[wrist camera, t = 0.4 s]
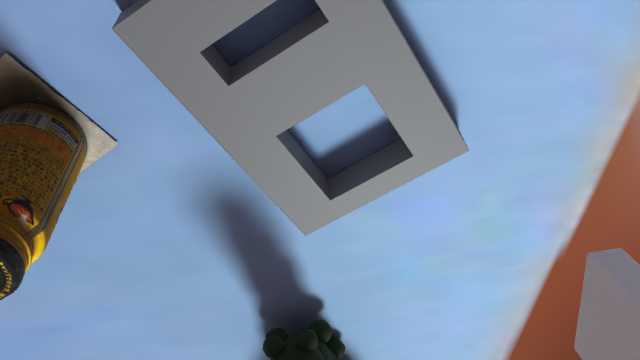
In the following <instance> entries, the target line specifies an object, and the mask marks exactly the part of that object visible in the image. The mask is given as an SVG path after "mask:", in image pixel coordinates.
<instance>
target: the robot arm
mask: <svg viewBox="0 0 640 360" xmlns="http://www.w3.org/2000/svg"><path fill="white" fill-rule="evenodd" d="M574 349H575V350H576V351H577V353H578V354H579V356H580V357H581V358H582V360H640V265H639V264H638V263H637V262H636V261H635V260H633V259H632V258H631V257H630V256H629V255H628V254H627V253H626V252H625V251H624V250H623V249H621V248H619V249H612V250H605V251H599V252H591V253H588V255H587V262H586V269H585V276H584V282H583V290H582V296H581V304H580V310H579V317H578V324H577V331H576V339H575V345H574Z"/></svg>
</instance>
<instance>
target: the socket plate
mask: <svg viewBox="0 0 640 360" xmlns="http://www.w3.org/2000/svg"><path fill="white" fill-rule="evenodd" d="M275 1H277V0H137V1H135V2H134V3H133V4H131V5H130V6H129V7H127V8H126V9H124V10H123V11H122V12H121V13H120V15H119V17H118V19H117V21H116V22H115V24H114V26H113V28H112V30H113V31H114V32H115V33H116V34H117V35H118V36H119V37H120V38H121V39H122V41H123V42H124V43H125V44H126V45H127V46H128V47H129V48H130V49H131V50H132V51H133V52H134V53H135V54H136V55H137V57H138V58H139V59H140V60H141V61H142V62H143V63H144V64H145V65H146V66H147V67H148V68H149V69H150V70H151V72H152V73H153V74H154V75H155V76H156V77H157V78H158V79H159V80H160V81H161V82H162V83H163V84H164V85H165V87H166V88H167V89H168V90H169V91H170V92H171V93H172V94H173V95H174V96H175V97H176V98H177V99H178V100H179V102H180V103H181V104H182V105H183V106H184V107H185V108H186V109H187V110H188V111H189V112H190V113H191V114H192V115H193V116H194V118H195V119H196V120H197V121H198V122H199V123H200V124H201V125H202V126H203V127H204V128H205V129H206V130H207V131H208V133H209V134H210V135H211V136H212V137H213V138H214V139H215V140H216V141H217V142H218V143H219V144H220V145H221V146H222V148H223V149H224V150H225V151H226V152H227V153H228V154H229V155H230V156H231V157H232V158H233V159H234V160H235V161H236V162H237V164H238V165H239V166H240V167H241V168H242V169H243V170H244V171H245V172H246V173H247V174H248V175H249V176H250V177H251V179H252V180H253V181H254V182H255V183H256V184H257V185H258V186H259V187H260V188H261V189H262V190H263V191H264V192H265V194H266V195H267V196H268V197H269V198H270V199H271V200H272V201H273V202H274V203H275V204H276V205H277V206H278V207H279V209H280V210H281V211H282V212H283V213H284V214H285V215H286V216H287V217H288V218H289V219H290V220H291V221H292V222H293V223H294V225H295V226H296V227H297V228H298V229H299V230H300V231H301V232H302V233H303V234H304V235H305V236H306V235H308V234H310V233H312V232H314V231H316V230H318V229H319V228H321V227H323V226H325V225H327V224H329V223H331V222H333V221H335V220H337V219H339V218H341V217H342V216H344V215H346V214H348V213H350V212H352V211H354V210H356V209H358V208H360V207H362V206H364V205H366V204H367V203H369V202H371V201H373V200H375V199H377V198H379V197H381V196H383V195H385V194H387V193H389V192H390V191H392V190H394V189H396V188H398V187H400V186H402V185H404V184H406V183H408V182H410V181H412V180H413V179H415V178H417V177H419V176H421V175H423V174H425V173H427V172H429V171H431V170H433V169H435V168H437V167H438V166H440V165H442V164H444V163H446V162H448V161H450V160H452V159H454V158H456V157H458V156H460V155H461V154H463V153H465V152H467V151H469V149H468V147H467V145H466V143H465V141H464V139H463V137H462V135H461V133H460V131H459V129H458V127H457V125H456V124H455V122H454V120H453V119H452V117H451V115H450V113H449V112H448V110H447V108H446V106H445V105H444V103H443V101H442V100H441V98H440V96H439V94H438V93H437V91H436V89H435V88H434V86H433V84H432V82H431V81H430V79H429V77H428V76H427V74H426V72H425V70H424V69H423V67H422V65H421V64H420V62H419V60H418V58H417V57H416V55H415V53H414V51H413V50H412V48H411V46H410V45H409V43H408V41H407V39H406V38H405V36H404V34H403V33H402V31H401V29H400V27H399V26H398V24H397V22H396V21H395V19H394V17H393V15H392V14H391V12H390V10H389V8H388V7H387V5H386V3H385V2H384V0H315V1H316V3H317V4H318V6H319V7H320V9H319V10H318V11H316V12H315V13H313V14H312V15H310V16H308V17H307V18H305V19H304V20H302V21H301V22H299V23H298V24H296V25H295V26H293V27H292V28H290V29H289V30H287V31H285V32H284V33H282V34H281V35H279V36H278V37H276V38H275V39H273V40H272V41H270V42H269V43H267V44H265V45H264V46H262V47H261V48H259V49H258V50H256V51H255V52H253V53H252V54H250V55H249V56H247V57H246V58H244V59H242V60H241V61H239V62H238V63H236V64H235V65H233V66H232V67H230V65H229V64H228V63H227V62H226V61H225V59H224V58H223V57H222V56H221V55H220V53H219V52H218V51H217V50H216V49H215V47H214V46H213V45H212V44H213V43H214V42H216V41H217V40H219V39H220V38H222V37H223V36H225V35H226V34H228V33H229V32H231V31H232V30H234V29H235V28H236V27H238V26H239V25H241V24H242V23H244V22H245V21H247V20H248V19H250V18H251V17H253V16H254V15H256V14H257V13H259V12H260V11H262V10H263V9H265V8H266V7H268V6H269V5H271V4H272V3H274V2H275ZM363 84H366V86H367V87H368V89H369V90H370V92H371V93H372V95H373V96H374V98H375V99H376V101H377V102H378V104H379V105H380V107H381V108H382V110H383V111H384V113H385V114H386V116H387V117H388V119H389V120H390V121H391V123H392V124H393V126H394V127H395V129H396V130H397V132H398V133H399V135H400V136H401V139H399V140H397V141H395V142H393V143H392V144H390V145H388V146H386V147H384V148H383V149H381V150H379V151H377V152H375V153H373V154H372V155H370V156H368V157H366V158H364V159H362V160H361V161H359V162H357V163H355V164H353V165H351V166H350V167H348V168H346V169H344V170H342V171H341V172H339V173H337V174H335V175H333V176H331V177H330V178H328V179H327V178H326V176H325V175H324V174H323V173H322V171H321V170H320V169H319V168H318V167H317V165H316V164H315V163H314V162H313V161H312V159H311V158H310V157H309V156H308V154H307V153H306V152H305V151H304V150H303V148H302V147H301V146H300V145H299V143H298V142H297V141H296V140H295V139H294V137H293V136H292V135H291V134H290V132H289V131H288V130H287V129H289V128H291V127H292V126H294V125H296V124H297V123H299V122H301V121H302V120H304V119H306V118H308V117H309V116H311V115H313V114H314V113H316V112H318V111H319V110H321V109H323V108H324V107H326V106H328V105H330V104H331V103H333V102H335V101H336V100H338V99H340V98H341V97H343V96H345V95H346V94H348V93H350V92H351V91H353V90H355V89H357V88H358V87H360V86H362V85H363Z"/></svg>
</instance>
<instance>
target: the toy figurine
mask: <svg viewBox="0 0 640 360" xmlns="http://www.w3.org/2000/svg"><path fill="white" fill-rule="evenodd" d="M331 335H332V332H331V327H330V325H329V324H328V323H327V322H326V321H324V320H316V321H313V322H312V323H311V324H310V326H309V328H308V329H306V330H302V331H300V332H299V333H298V334H296V335H293V336H290V337H288V335H287V334H286V332H285V331H284V329H281V328H275V329H271V330H270V331H269V332H268V333H267V335H266V339H265V341H264V344H263V351H264V352H265V354H266V356H268V357H271V360H340V359H342V358H343V356H344V351H345V346H344V344H343V343H342V341H340V340H339V339H335V338H333V339H330V338H331ZM329 339H330V340H329Z"/></svg>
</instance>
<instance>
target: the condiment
mask: <svg viewBox="0 0 640 360" xmlns="http://www.w3.org/2000/svg"><path fill="white" fill-rule="evenodd" d="M37 97H39V98H40V99H38V98H37ZM116 145H118V143H117V142H115V141H114V140H113V139H112V138H111V137H110V136H108V135H107V134H106V133H105V132H104V131H103V130H101V129H100V128H99V127H98V126H97V125H96V124H94V123H92V122H91V121H90V120H89V119H88V118H87V117H86V116H85V115H84V114H82V113H81V112H80V111H78V110H77V109H76V108H75V107H74V106H72V105H71V104H70V103H68V102H67V101H66V100H65V99H64V98H62V97H60V96H59V95H57V94H56V93H55V92H53V91H52V90H51V89H50V88H49V87H48V86H47V85H46V84H44V83H43V82H42V81H41V80H40V79H39V78H37V77H36V76H35V75H34V74H32V73H31V72H30V71H28V70H27V69H25V68H24V67H23V66H21V65H20V64H19V63H18V62H17V61H16V60H14V59H13V58H12V57H11V56H9V55H8V54H7V53H5V54H4V55H3V56H2V57H1V58H0V300H2V299H3V298H5V297H7V296H8V295H10V294H12V293H13V292H14V291H15V290H17V288H18V287H19V285H20V284H21V282H22V279H23V276H24V274H25V273H26V271H27V270H28V268H29V267H30V265H31V264H32V263H33V262H34V261H35V260H37V259H38V258H39V256H40V255H41V254H42V253H43V251H44V250H45V248H46V246H47V244H48V241H49V239H50V237H51V234H52V232H53V230H54V228H55V225H56V224H57V221H58V218H59V216H60V213H61V212H62V210H63V208H64V206H65V203H66V202H67V199H68V197H69V195H70V192H71V190H72V187H73V185H74V184H75V183H76V180H77V176H78V175H79V173H80V172H82V171H83V170H84V169H86V168H87V167H88V166H90V165H91V164H92V163H94V162H95V161H96V160H98V159H99V158H101V157H102V156H103V155H105V154H106V153H107V152H109V151H110V150H111V149H113V148H114V147H115V146H116Z"/></svg>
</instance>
